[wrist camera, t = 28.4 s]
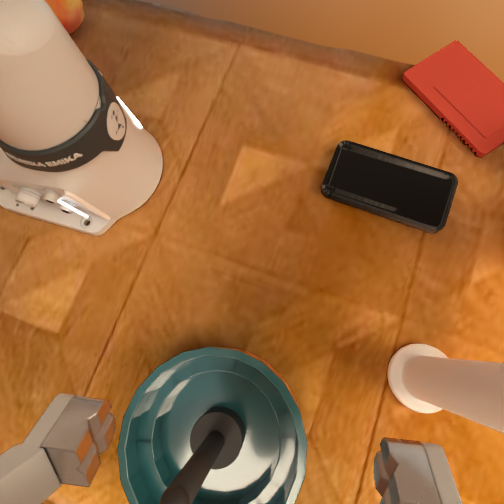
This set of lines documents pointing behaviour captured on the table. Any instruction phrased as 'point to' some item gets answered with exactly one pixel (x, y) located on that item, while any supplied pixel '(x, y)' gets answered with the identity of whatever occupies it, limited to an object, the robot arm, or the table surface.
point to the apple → (68, 13)
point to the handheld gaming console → (462, 95)
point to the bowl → (196, 405)
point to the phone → (390, 186)
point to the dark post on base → (207, 453)
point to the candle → (448, 384)
